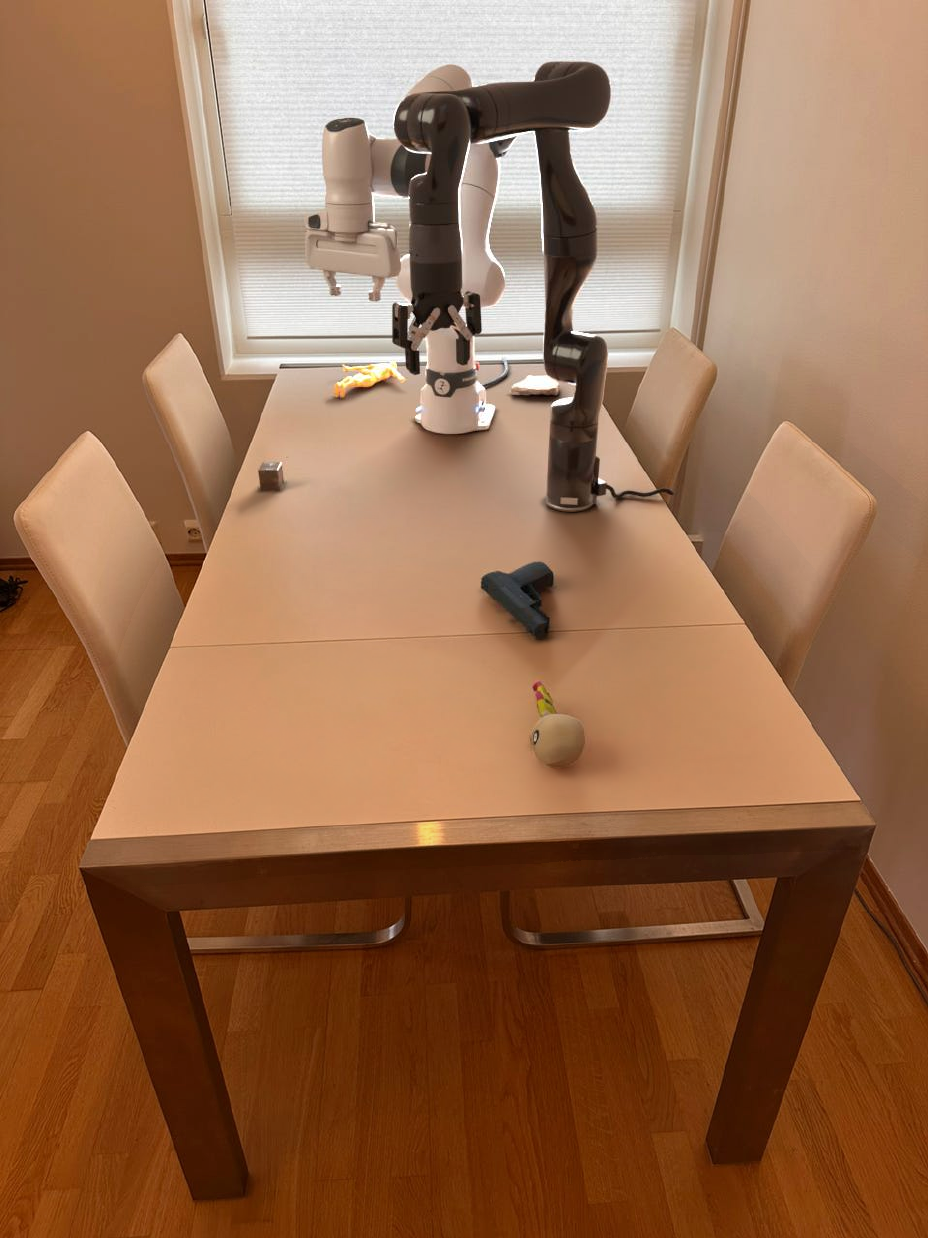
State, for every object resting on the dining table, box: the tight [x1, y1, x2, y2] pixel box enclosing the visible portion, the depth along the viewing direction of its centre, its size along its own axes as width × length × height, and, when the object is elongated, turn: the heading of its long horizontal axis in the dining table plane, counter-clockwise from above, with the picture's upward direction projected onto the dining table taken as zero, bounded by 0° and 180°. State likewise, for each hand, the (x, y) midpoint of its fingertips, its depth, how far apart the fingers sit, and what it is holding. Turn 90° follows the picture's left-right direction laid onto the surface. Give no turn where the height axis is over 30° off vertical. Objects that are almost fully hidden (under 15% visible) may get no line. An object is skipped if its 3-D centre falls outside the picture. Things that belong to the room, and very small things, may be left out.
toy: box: [529, 680, 586, 769], centre depth 115 cm, size 6×7×15 cm
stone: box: [509, 375, 560, 396], centre depth 238 cm, size 13×12×2 cm
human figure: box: [333, 361, 408, 398], centre depth 242 cm, size 20×20×4 cm
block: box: [257, 461, 285, 492], centre depth 184 cm, size 4×4×5 cm
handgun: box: [480, 561, 555, 640], centre depth 143 cm, size 3×18×12 cm
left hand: (355, 297), depth 171 cm, fingers open, 8 cm apart
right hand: (438, 368), depth 136 cm, fingers open, 8 cm apart
